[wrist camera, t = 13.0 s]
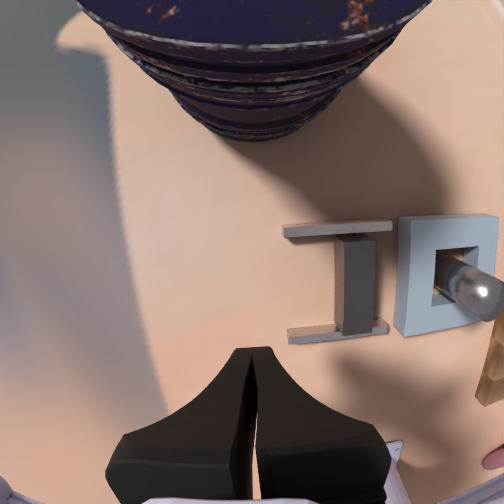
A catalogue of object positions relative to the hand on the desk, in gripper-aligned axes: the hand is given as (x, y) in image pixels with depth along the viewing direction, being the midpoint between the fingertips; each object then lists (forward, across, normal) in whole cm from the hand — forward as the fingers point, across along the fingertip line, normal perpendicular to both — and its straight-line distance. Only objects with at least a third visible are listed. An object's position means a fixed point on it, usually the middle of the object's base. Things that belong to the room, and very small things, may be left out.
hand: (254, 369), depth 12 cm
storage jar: (+10, -1, -14) cm, 17 cm away
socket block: (+10, -14, 0) cm, 17 cm away
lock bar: (+10, -6, 0) cm, 12 cm away
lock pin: (+10, -14, 0) cm, 17 cm away
